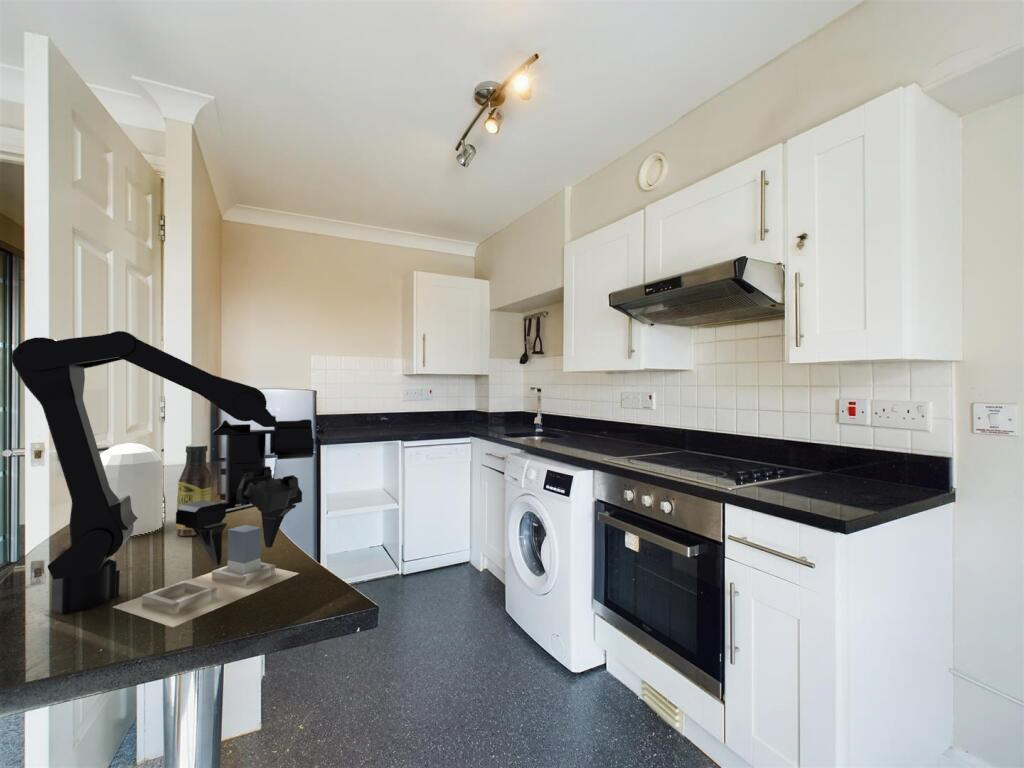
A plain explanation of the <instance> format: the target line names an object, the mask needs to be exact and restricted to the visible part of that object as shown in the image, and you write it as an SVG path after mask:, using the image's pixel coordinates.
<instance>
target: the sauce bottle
mask: <svg viewBox="0 0 1024 768" xmlns="http://www.w3.org/2000/svg"><path fill="white" fill-rule="evenodd" d="M208 450H209V449H208V444H203V443H202V444H201V443H199V444H198V443H196V444H188V445H186V447H185V452H186V456H185V457H186V459H185V465H184V468H183V471H182V472H181V475H180V477H179V479H178V480H177V481H178V483H177V496H176V497H177V500H176V511H177V510H178V509H179V508H180V506H181V505H183V504H188V503H193V502H198V501H203V500H206V501H211V500H212V497H211V496H212V485H211V484H212V473H211V471H210V470H209V468H208V467H207V452H208ZM175 527H176V535H177V536H178V537H179V536H180V537H182V536H183V537H192V536H197V535H196V533H195V532H194V530H193V529H191V528H186V527H185V525H181V524H176V523H175Z"/></svg>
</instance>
